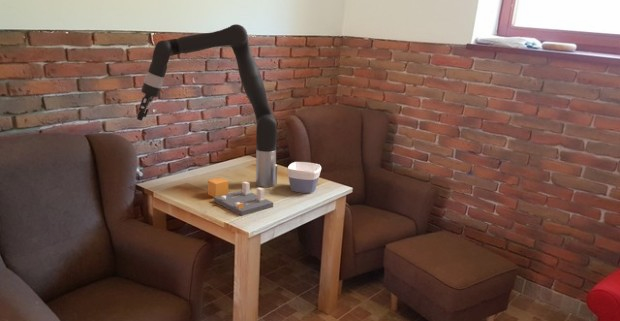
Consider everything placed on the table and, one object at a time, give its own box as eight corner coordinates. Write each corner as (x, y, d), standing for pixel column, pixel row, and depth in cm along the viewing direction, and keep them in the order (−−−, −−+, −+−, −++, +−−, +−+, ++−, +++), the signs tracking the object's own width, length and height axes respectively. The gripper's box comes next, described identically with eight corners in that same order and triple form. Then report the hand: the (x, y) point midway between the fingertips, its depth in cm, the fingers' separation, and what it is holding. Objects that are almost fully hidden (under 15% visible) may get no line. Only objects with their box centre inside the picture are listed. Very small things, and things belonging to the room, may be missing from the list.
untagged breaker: (246, 192, 202) (246, 180, 200) (251, 194, 199) (251, 182, 198) (240, 193, 200) (240, 182, 198) (245, 195, 197) (245, 184, 196)
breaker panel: (244, 193, 206) (244, 185, 205) (273, 206, 192) (273, 197, 191) (213, 201, 195) (213, 192, 194) (241, 215, 181) (241, 206, 180)
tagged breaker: (260, 198, 195) (260, 186, 194) (265, 200, 193) (265, 189, 191) (254, 200, 193) (254, 188, 192) (259, 202, 191) (260, 190, 189)
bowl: (322, 186, 221) (323, 163, 219) (315, 196, 207) (317, 172, 204) (292, 182, 225) (292, 160, 222) (283, 192, 210) (283, 169, 207)
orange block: (220, 191, 207) (220, 177, 206) (228, 195, 203) (228, 181, 201) (207, 194, 203) (207, 180, 201) (215, 198, 199) (215, 183, 197)
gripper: (158, 89, 195) (146, 124, 199) (164, 85, 209) (152, 118, 212) (140, 82, 194) (129, 118, 197) (147, 79, 207) (136, 112, 211)
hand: (141, 118), depth 205 cm, fingers open, 8 cm apart
